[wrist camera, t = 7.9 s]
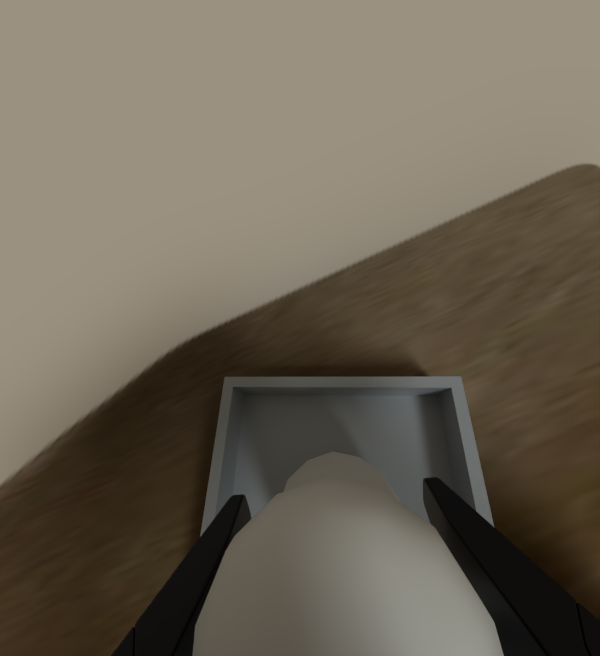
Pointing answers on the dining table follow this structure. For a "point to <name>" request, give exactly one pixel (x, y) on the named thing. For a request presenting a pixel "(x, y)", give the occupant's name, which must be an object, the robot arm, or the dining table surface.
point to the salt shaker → (341, 576)
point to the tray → (344, 436)
